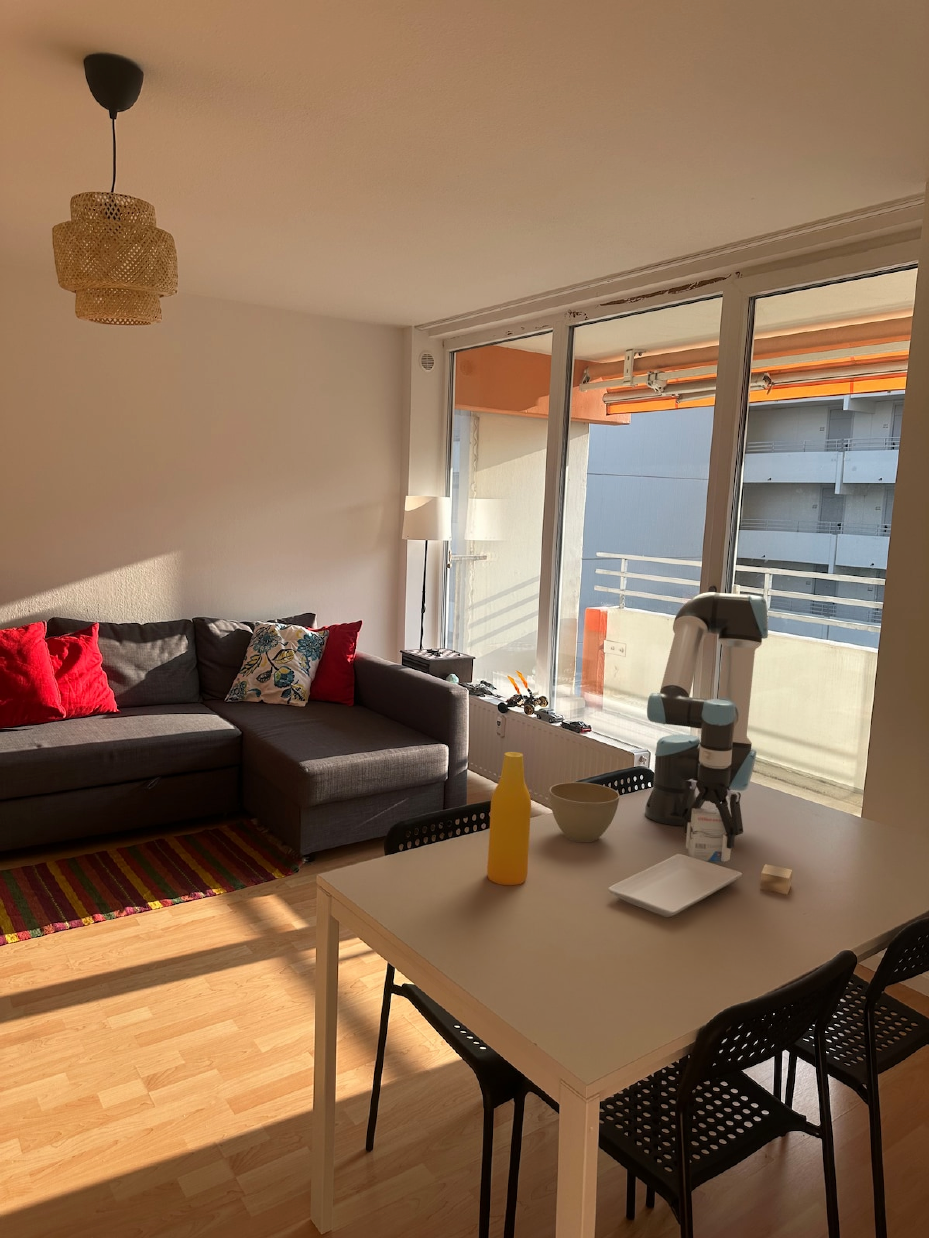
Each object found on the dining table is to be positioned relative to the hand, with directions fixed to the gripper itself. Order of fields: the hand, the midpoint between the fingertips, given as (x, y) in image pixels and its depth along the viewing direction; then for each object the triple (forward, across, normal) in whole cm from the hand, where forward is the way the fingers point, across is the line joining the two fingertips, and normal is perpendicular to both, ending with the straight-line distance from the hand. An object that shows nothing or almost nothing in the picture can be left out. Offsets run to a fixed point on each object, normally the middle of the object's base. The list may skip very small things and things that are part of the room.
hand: (707, 853), depth 217 cm
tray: (+3, +5, -21) cm, 21 cm away
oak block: (+3, +17, +1) cm, 18 cm away
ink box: (+1, 0, 0) cm, 1 cm away
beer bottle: (+2, -24, -46) cm, 51 cm away
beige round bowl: (+3, -31, -11) cm, 33 cm away
